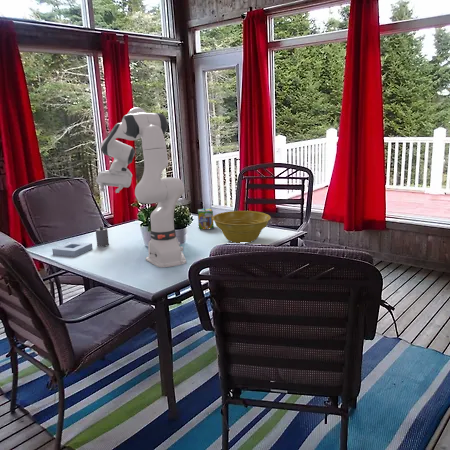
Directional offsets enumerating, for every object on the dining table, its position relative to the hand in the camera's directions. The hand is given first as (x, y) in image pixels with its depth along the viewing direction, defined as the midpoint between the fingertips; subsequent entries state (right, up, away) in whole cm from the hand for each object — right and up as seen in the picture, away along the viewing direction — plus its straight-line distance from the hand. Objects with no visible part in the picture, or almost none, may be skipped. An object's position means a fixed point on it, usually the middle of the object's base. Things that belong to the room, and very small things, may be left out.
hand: (109, 191), depth 232 cm
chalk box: (+53, -21, +29) cm, 63 cm away
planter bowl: (+74, -27, 0) cm, 79 cm away
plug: (-3, -30, -3) cm, 30 cm away
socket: (-15, -33, -13) cm, 38 cm away
